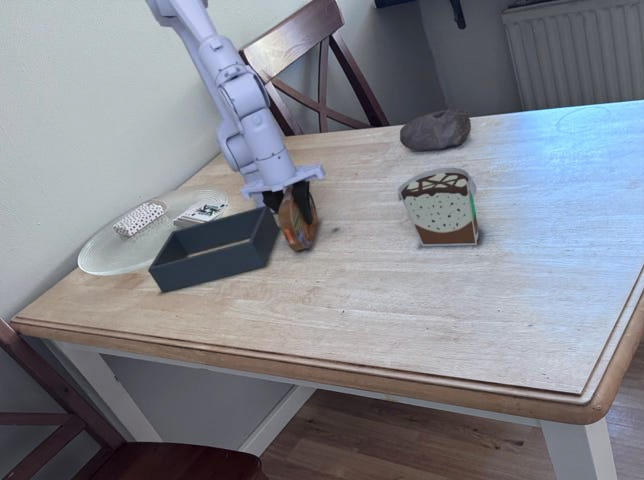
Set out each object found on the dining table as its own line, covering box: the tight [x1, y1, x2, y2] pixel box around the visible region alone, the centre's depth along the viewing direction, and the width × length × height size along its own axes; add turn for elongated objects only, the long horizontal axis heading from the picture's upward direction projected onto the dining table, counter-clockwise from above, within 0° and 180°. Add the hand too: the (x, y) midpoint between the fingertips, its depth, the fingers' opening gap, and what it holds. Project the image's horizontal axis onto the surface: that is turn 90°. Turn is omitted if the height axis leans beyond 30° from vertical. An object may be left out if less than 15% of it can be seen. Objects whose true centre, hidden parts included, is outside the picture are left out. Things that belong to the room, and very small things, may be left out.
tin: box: [277, 186, 318, 252], centre depth 111 cm, size 15×3×8 cm, turn 178°
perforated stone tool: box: [399, 107, 472, 152], centre depth 125 cm, size 15×5×7 cm, turn 67°
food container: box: [397, 166, 480, 247], centre depth 96 cm, size 12×6×10 cm, turn 65°
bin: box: [147, 206, 280, 293], centre depth 116 cm, size 14×20×5 cm
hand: (302, 224), depth 112 cm, fingers closed on tin, 3 cm apart
